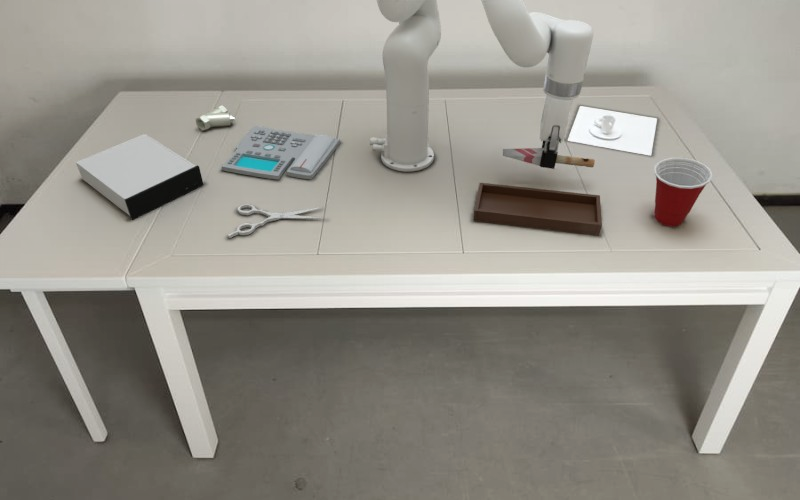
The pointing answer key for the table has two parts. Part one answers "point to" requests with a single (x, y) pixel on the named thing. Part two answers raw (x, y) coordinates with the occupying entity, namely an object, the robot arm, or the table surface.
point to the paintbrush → (535, 155)
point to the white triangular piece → (614, 130)
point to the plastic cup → (678, 188)
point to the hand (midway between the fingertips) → (547, 160)
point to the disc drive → (140, 175)
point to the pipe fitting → (215, 118)
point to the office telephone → (280, 153)
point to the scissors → (271, 217)
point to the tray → (538, 208)
